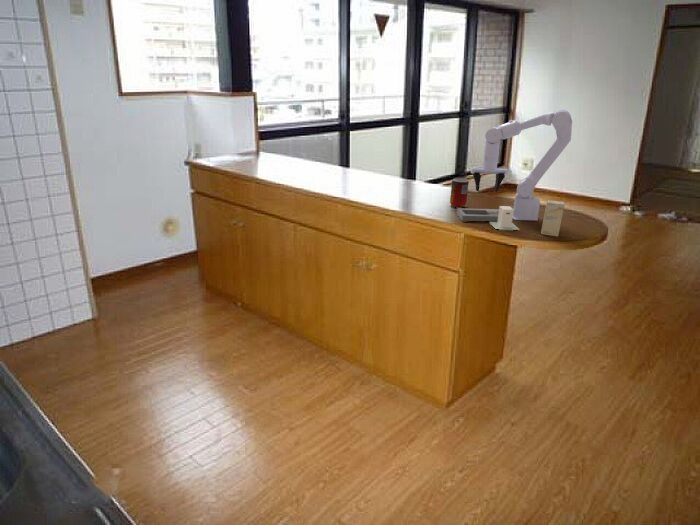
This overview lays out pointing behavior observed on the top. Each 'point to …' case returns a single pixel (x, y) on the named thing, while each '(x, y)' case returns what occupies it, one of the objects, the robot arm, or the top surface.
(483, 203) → the top surface
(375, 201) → the top surface
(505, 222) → the charger
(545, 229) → the skincare box
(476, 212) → the grey tray
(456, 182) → the soda can
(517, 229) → the mat
